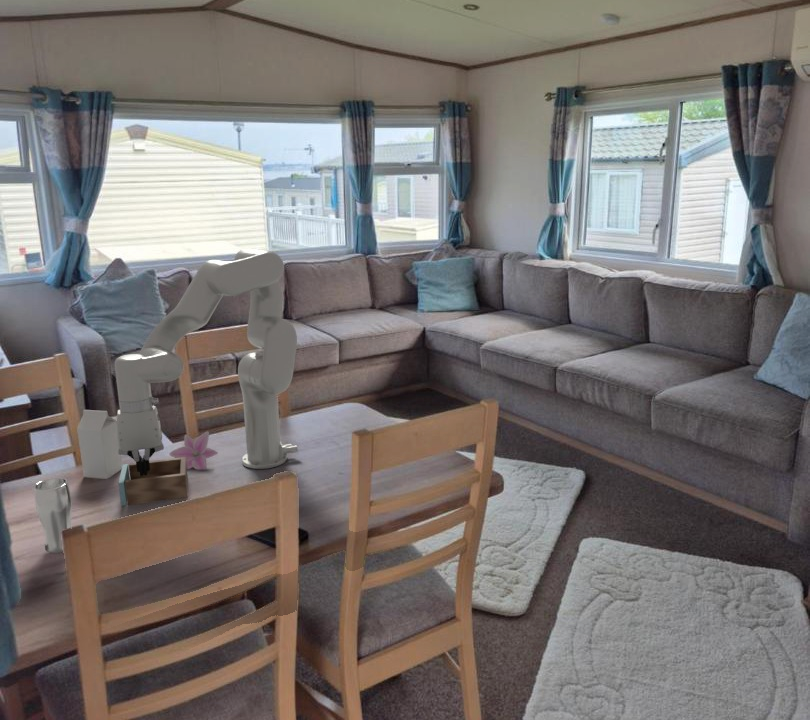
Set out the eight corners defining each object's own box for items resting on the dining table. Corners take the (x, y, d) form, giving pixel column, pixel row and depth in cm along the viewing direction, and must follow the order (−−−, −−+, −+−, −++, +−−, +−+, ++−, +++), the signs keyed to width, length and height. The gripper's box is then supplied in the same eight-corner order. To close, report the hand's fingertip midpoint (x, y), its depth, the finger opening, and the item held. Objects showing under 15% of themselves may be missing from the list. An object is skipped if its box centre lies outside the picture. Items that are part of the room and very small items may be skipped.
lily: (167, 471, 194) (161, 450, 187) (195, 443, 201) (191, 422, 195) (201, 490, 190) (196, 469, 183) (228, 461, 198) (225, 440, 191)
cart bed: (188, 481, 184) (185, 456, 182) (188, 501, 173) (185, 474, 171) (132, 489, 180) (129, 463, 179) (128, 509, 169) (125, 482, 167)
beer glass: (54, 557, 148) (44, 493, 144) (36, 548, 152) (25, 486, 148) (84, 543, 154) (75, 481, 150) (65, 535, 157) (56, 474, 154)
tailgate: (130, 485, 180) (127, 463, 178) (126, 505, 169) (123, 482, 167) (125, 485, 180) (122, 464, 178) (121, 505, 169) (118, 483, 167)
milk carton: (107, 483, 184) (98, 415, 179) (84, 481, 186) (74, 414, 181) (123, 472, 191) (115, 407, 186) (100, 470, 192) (91, 405, 188)
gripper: (168, 397, 175) (175, 464, 180) (105, 403, 171) (113, 471, 176) (167, 406, 168) (174, 475, 173) (101, 412, 164) (110, 483, 169)
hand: (144, 473), depth 174 cm, fingers closed
